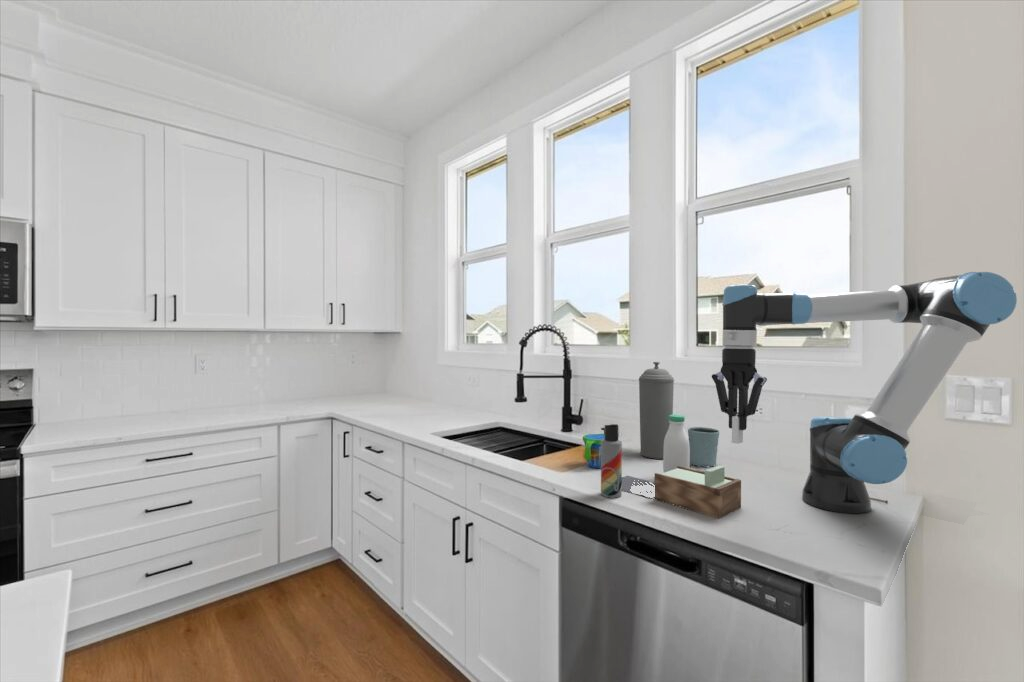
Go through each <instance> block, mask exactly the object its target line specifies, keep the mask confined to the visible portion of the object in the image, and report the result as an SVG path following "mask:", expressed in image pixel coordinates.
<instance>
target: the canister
mask: <svg viewBox="0 0 1024 682" xmlns="http://www.w3.org/2000/svg"><path fill="white" fill-rule="evenodd" d="M652 363H653V364H654V367H653V368H647V369H646V370H644V371H643V373H641V375H640V376H639V377H638V386H639V387H638V389H639V392H638V394H639V396H638V397H639V430H640V431H639V434H640V435H639V436H640V438H639V439H640V441H639V442H640V455H641V456H642V457H645V458H649V459H655V460H657V459H658V460H661V459H662V460H663V455H664V439H665V436H666V433H667V431H668V429H669V425H670V422H669V415H674V414H673V412H674V389H675V388H674V384H675V383H674V381H675V379H674V377H673V376H672V374H670V372H669V371H668V370H667V369H665V368H664V369H663V368H660V367H659V364H661V362H660V361H653V362H652Z"/></svg>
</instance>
